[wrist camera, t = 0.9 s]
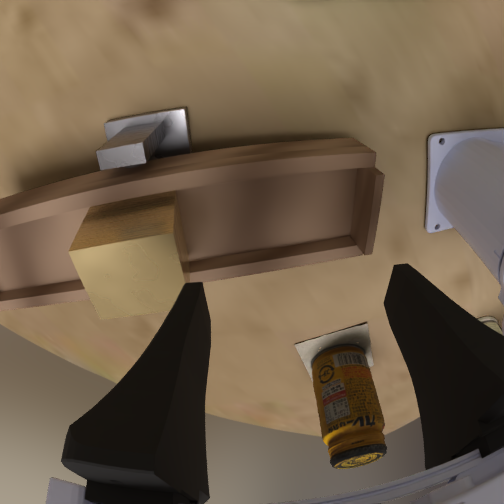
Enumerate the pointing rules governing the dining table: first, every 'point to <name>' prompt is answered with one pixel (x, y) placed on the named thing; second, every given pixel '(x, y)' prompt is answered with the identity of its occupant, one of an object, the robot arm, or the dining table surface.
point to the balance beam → (204, 214)
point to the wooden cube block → (132, 255)
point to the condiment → (346, 396)
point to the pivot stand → (145, 138)
